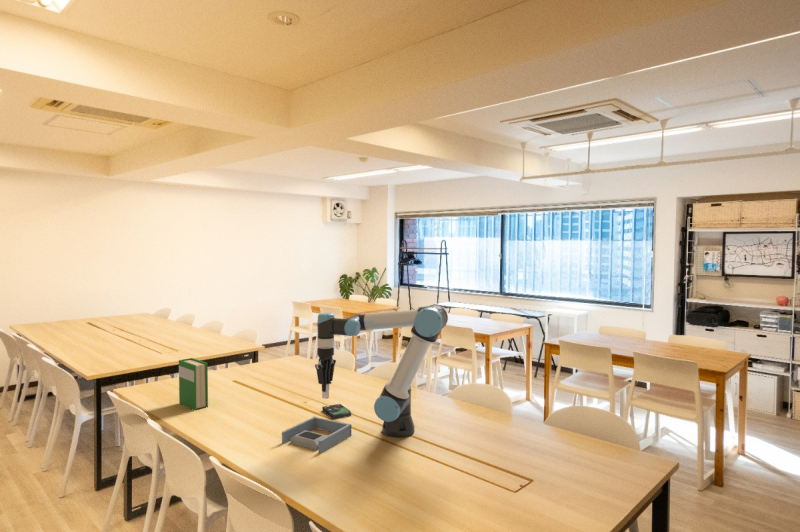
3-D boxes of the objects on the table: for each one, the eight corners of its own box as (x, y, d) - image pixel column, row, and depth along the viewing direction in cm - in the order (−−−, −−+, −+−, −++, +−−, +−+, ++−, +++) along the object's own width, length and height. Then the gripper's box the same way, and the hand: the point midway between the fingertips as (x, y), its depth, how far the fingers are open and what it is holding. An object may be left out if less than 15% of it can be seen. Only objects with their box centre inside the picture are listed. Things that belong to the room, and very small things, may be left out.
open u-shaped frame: (351, 435, 226) (351, 424, 225) (320, 453, 206) (320, 441, 206) (314, 426, 236) (314, 416, 236) (282, 443, 216) (281, 431, 216)
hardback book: (208, 407, 264) (207, 362, 263) (194, 410, 259) (193, 365, 258) (192, 400, 276) (192, 357, 275) (179, 403, 270) (178, 360, 269)
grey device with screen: (316, 442, 209) (290, 435, 216) (316, 451, 209) (290, 444, 216) (330, 435, 217) (304, 428, 225) (330, 443, 217) (304, 436, 225)
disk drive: (321, 411, 259) (333, 420, 247) (321, 406, 259) (333, 414, 246) (339, 408, 265) (351, 416, 252) (339, 403, 264) (351, 411, 252)
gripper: (327, 343, 232) (327, 393, 233) (310, 348, 221) (309, 400, 222) (340, 345, 229) (340, 395, 230) (323, 350, 217) (323, 403, 218)
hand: (325, 398), depth 226 cm, fingers closed
